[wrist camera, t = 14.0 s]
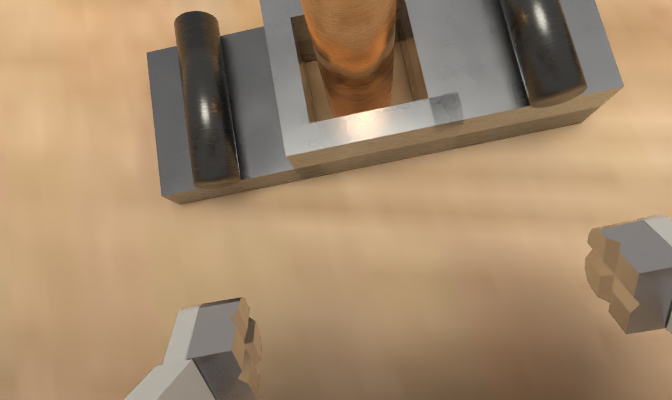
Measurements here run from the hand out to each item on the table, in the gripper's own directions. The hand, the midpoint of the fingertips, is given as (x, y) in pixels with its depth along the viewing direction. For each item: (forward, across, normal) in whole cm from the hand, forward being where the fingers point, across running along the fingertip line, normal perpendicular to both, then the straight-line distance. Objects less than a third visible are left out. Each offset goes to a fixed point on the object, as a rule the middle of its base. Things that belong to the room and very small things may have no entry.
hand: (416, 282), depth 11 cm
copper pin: (+14, 0, +1) cm, 14 cm away
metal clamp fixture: (+14, 0, +1) cm, 15 cm away
